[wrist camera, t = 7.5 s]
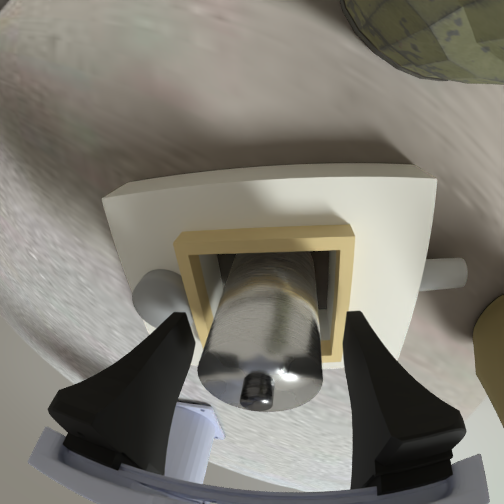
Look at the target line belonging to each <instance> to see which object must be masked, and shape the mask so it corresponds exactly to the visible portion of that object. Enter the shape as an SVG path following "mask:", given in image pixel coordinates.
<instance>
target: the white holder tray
mask: <svg viewBox="0 0 504 504" xmlns="http://www.w3.org/2000/svg"><path fill="white" fill-rule="evenodd" d="M436 188H437V178H435V177H434V176H432V175H431V174H429V173H427V172H426V171H424V170H422V169H421V168H419V167H417V166H416V165H410V164H382V163H324V164H295V165H276V166H260V167H247V168H235V169H225V170H215V171H205V172H197V173H189V174H181V175H173V176H166V177H159V178H152V179H146V180H140V181H134V182H128V183H126V184H124V185H123V186H121V187H119V188H118V189H116V190H114V191H113V192H111V193H110V194H108V195H106V196H105V197H103V198H102V203H103V207H104V210H105V214H106V217H107V221H108V224H109V227H110V231H111V234H112V237H113V240H114V243H115V247H116V250H117V253H118V256H119V259H120V261H121V264H122V267H123V270H124V273H125V276H126V278H127V281H128V284H129V286H130V289H131V292H132V300H133V304H134V307H135V309H136V311H137V312H138V314H139V315H140V316H141V317H142V319H143V321H144V324H145V326H146V328H147V331H148V333H149V335H150V334H151V333H152V332H153V331H154V330H155V329H156V328H157V327H158V326H159V325H160V324H161V323H163V322H164V321H165V320H166V319H167V318H168V317H169V316H170V315H171V314H172V313H173V312H186V314H187V317H188V321H189V324H190V327H191V330H192V333H193V336H194V339H195V342H196V344H195V349H194V354H193V358H192V362H191V366H198V364H199V361H200V358H201V355H202V352H203V349H204V346H205V343H206V340H207V337H208V334H209V331H210V328H211V325H212V322H213V319H214V317H215V314H216V311H217V308H218V305H219V302H220V299H221V296H222V293H223V290H224V288H223V283H222V278H221V273H220V268H219V263H218V257H217V254H234V253H265V252H295V251H326V250H329V272H328V294H327V309H318V312H319V325H320V339H321V355H322V369H337V368H344V359H343V345H342V343H343V336H344V329H345V321H346V313H347V311H361V312H362V313H363V315H364V316H365V318H366V319H367V321H368V323H369V324H370V326H371V327H372V329H373V330H374V332H375V333H376V334H377V336H378V337H379V339H380V340H381V341H382V343H383V344H384V345H385V347H386V348H387V349H388V351H389V352H390V353H391V354H392V355H393V357H394V358H395V359H396V360H398V357H399V355H400V352H401V349H402V346H403V343H404V340H405V337H406V334H407V331H408V327H409V324H410V321H411V318H412V314H413V311H414V307H415V303H416V300H417V296H418V292H419V291H428V290H439V289H450V288H460V287H463V286H464V285H465V283H466V281H467V276H468V270H467V265H466V262H465V261H464V259H463V258H442V259H426V256H427V251H428V246H429V240H430V234H431V228H432V222H433V214H434V207H435V198H436Z"/></svg>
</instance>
